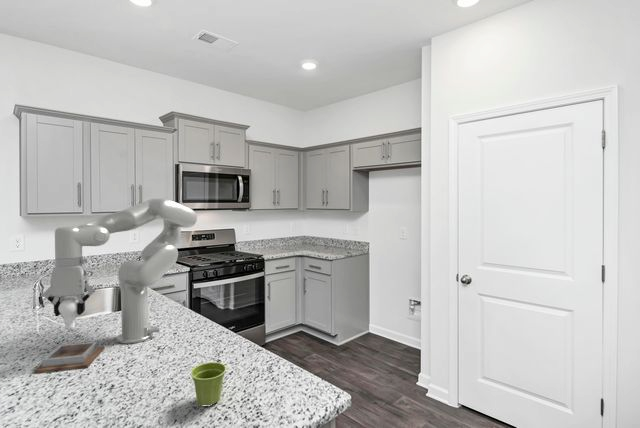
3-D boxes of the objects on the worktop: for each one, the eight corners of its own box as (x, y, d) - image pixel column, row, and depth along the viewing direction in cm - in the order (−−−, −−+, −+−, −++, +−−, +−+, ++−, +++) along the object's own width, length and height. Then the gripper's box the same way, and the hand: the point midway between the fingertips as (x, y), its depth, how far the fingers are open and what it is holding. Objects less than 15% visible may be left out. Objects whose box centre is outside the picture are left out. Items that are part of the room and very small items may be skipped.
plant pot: (230, 390, 98) (229, 361, 98) (221, 410, 89) (221, 378, 89) (197, 391, 98) (197, 362, 98) (185, 411, 89) (185, 379, 88)
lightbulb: (77, 325, 121) (77, 295, 121) (83, 329, 117) (82, 298, 117) (56, 330, 116) (56, 298, 116) (61, 334, 112) (61, 301, 112)
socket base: (104, 348, 126) (104, 346, 126) (87, 367, 112) (87, 364, 112) (57, 353, 123) (57, 350, 123) (34, 373, 108) (34, 370, 108)
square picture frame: (98, 348, 125) (97, 341, 124) (84, 363, 113) (83, 356, 113) (60, 351, 121) (60, 345, 121) (42, 367, 110) (42, 360, 110)
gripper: (101, 260, 122) (101, 309, 122) (45, 261, 117) (46, 312, 118) (93, 263, 114) (93, 316, 115) (33, 265, 110) (34, 320, 111)
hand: (69, 313), depth 116 cm, fingers closed on lightbulb, 5 cm apart
